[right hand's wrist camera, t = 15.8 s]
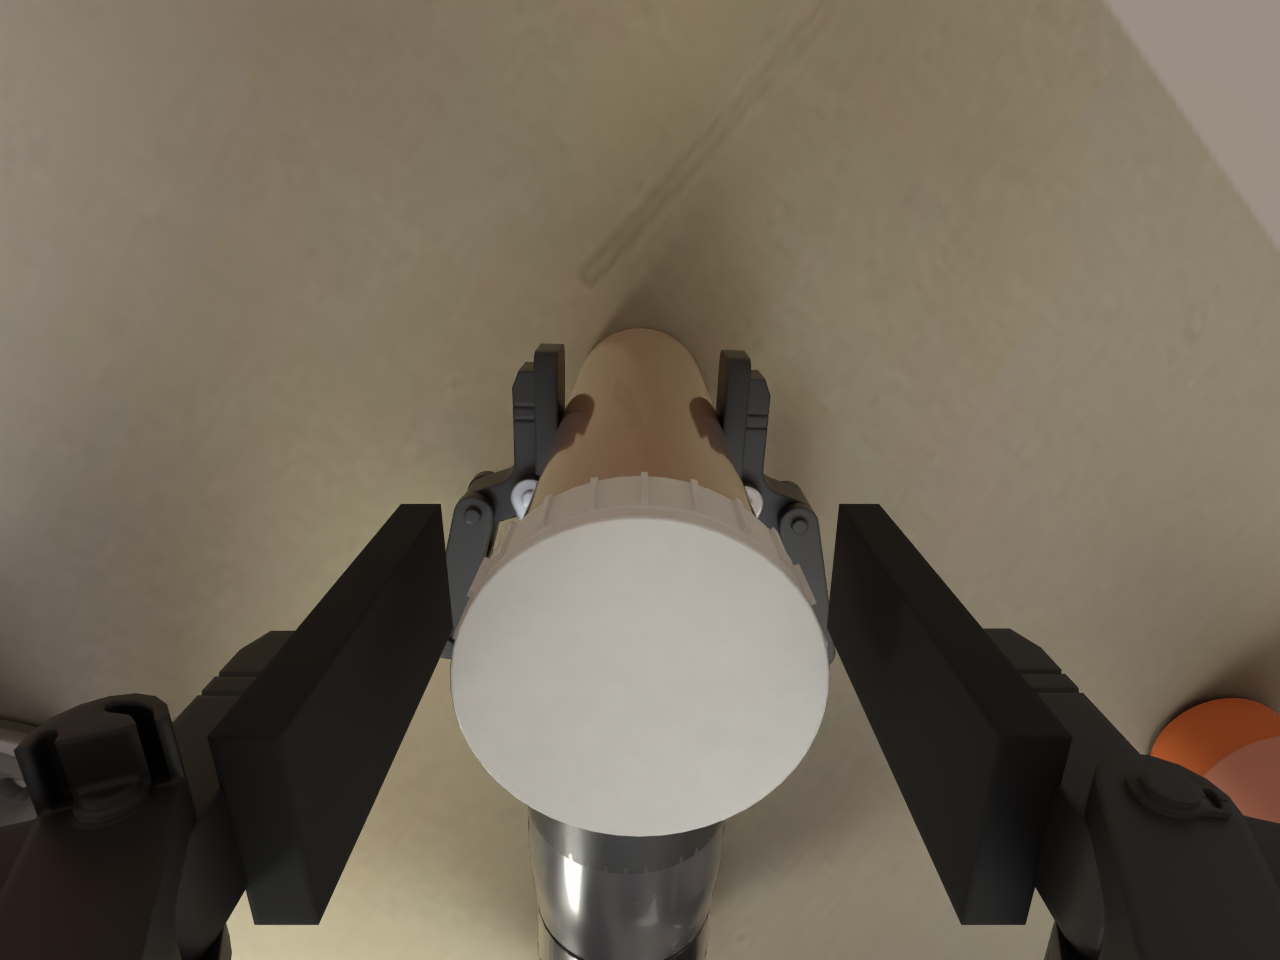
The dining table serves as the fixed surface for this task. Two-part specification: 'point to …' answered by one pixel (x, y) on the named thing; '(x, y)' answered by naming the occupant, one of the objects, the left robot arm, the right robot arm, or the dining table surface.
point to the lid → (639, 658)
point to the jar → (639, 421)
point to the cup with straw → (1230, 751)
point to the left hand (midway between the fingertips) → (641, 353)
